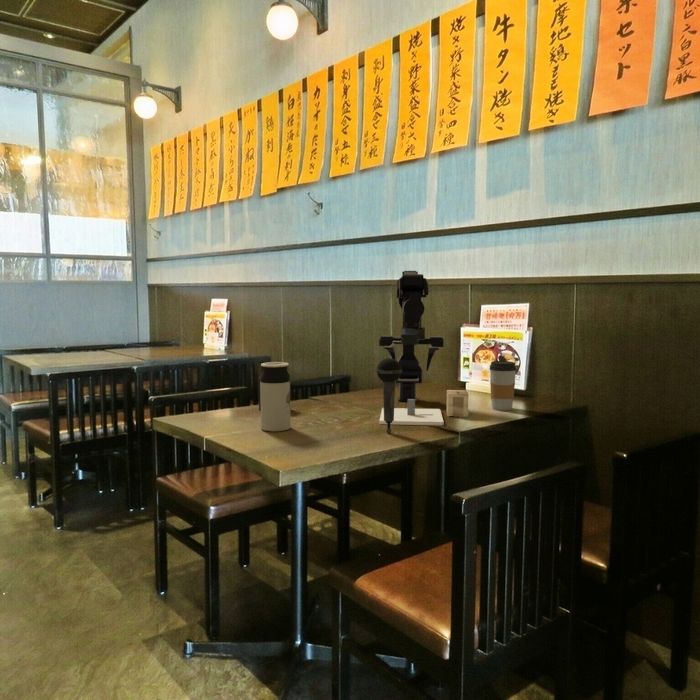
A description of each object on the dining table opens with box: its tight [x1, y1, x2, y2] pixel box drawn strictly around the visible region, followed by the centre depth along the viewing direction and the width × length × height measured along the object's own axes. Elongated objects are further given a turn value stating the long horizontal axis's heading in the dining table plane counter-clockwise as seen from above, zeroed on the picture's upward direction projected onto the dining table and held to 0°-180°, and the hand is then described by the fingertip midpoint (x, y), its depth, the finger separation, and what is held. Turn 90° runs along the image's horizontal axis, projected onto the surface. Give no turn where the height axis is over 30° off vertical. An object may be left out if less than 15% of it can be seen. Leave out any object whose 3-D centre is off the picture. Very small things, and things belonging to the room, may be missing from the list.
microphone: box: [375, 357, 402, 434], centre depth 151 cm, size 7×7×20 cm
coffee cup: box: [489, 360, 517, 412], centre depth 182 cm, size 8×8×15 cm
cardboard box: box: [445, 389, 469, 418], centre depth 174 cm, size 6×6×7 cm
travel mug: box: [259, 361, 291, 433], centre depth 156 cm, size 8×8×18 cm
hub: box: [378, 399, 445, 426], centre depth 170 cm, size 18×18×6 cm
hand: (411, 370), depth 169 cm, fingers open, 9 cm apart
